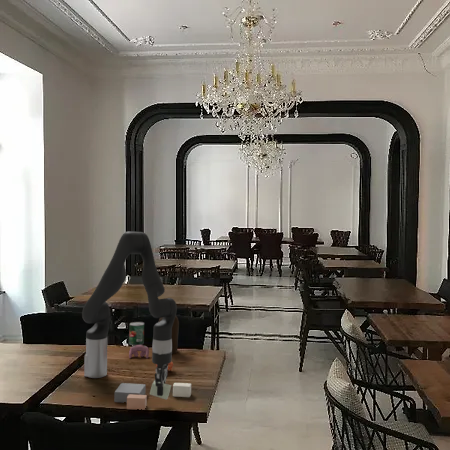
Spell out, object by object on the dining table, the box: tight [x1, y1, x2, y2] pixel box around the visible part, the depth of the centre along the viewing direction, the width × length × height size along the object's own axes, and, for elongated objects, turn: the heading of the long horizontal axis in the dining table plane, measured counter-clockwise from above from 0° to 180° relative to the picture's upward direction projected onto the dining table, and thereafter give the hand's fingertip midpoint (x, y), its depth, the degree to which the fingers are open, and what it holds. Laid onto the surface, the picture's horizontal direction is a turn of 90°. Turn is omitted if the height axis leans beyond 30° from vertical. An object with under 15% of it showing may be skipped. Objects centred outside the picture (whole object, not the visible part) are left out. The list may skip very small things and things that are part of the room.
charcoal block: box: [113, 382, 147, 404], centre depth 213 cm, size 10×10×4 cm
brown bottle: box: [158, 315, 180, 354], centre depth 276 cm, size 11×11×25 cm
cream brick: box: [172, 382, 192, 398], centre depth 218 cm, size 7×4×4 cm, turn 85°
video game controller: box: [128, 344, 150, 359], centre depth 267 cm, size 10×5×7 cm, turn 92°
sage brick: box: [149, 379, 172, 400], centre depth 206 cm, size 7×4×4 cm, turn 85°
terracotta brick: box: [126, 394, 148, 411], centre depth 204 cm, size 7×4×4 cm, turn 87°
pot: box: [155, 361, 174, 372], centre depth 246 cm, size 8×8×7 cm
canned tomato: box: [128, 321, 145, 346], centre depth 290 cm, size 8×8×11 cm
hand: (161, 393), depth 206 cm, fingers closed on sage brick, 3 cm apart
